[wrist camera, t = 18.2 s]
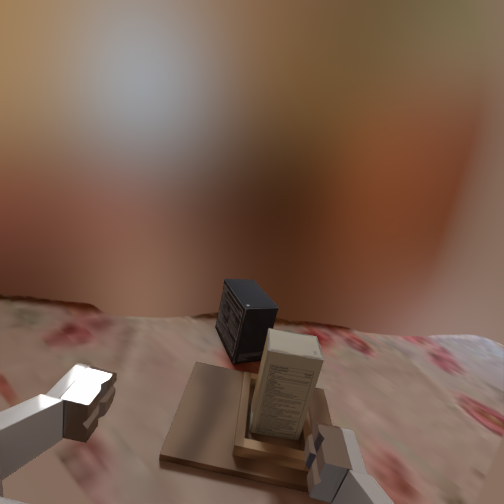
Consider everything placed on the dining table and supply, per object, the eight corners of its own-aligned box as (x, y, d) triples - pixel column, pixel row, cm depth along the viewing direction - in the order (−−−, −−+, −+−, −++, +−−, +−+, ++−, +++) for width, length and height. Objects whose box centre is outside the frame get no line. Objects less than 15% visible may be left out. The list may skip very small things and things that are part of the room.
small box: (267, 360, 46) (281, 307, 43) (232, 365, 43) (244, 309, 40) (244, 324, 55) (254, 277, 52) (214, 326, 52) (222, 278, 49)
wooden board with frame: (159, 459, 28) (161, 443, 28) (195, 365, 42) (197, 353, 41) (345, 500, 28) (352, 485, 27) (322, 393, 41) (326, 381, 41)
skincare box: (295, 411, 36) (319, 335, 33) (299, 442, 32) (327, 360, 29) (248, 402, 36) (268, 325, 33) (246, 432, 32) (268, 348, 28)
